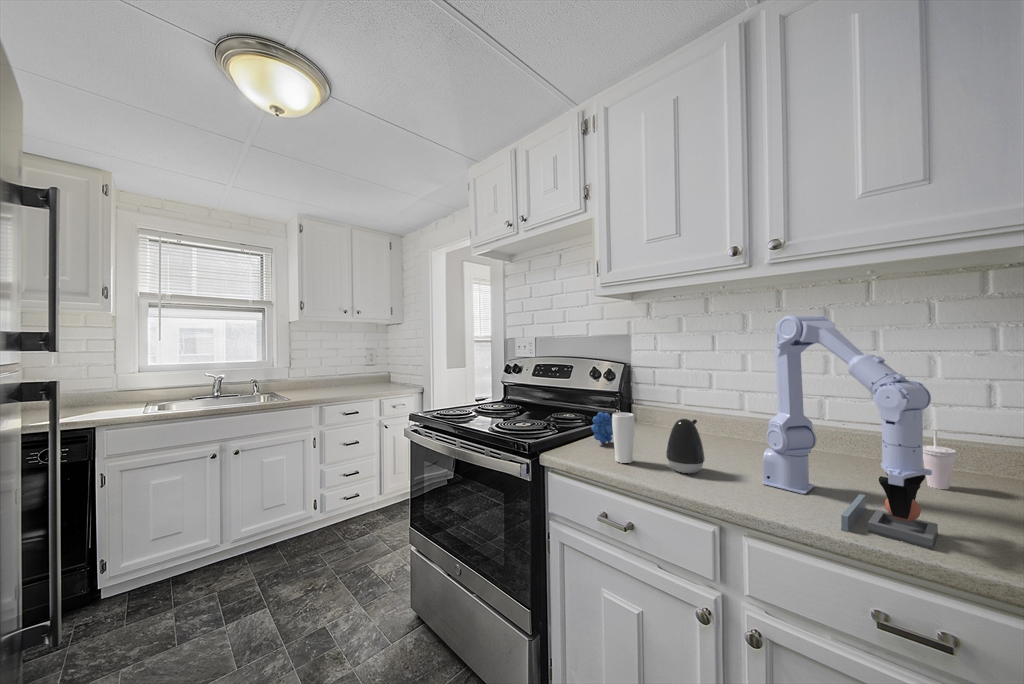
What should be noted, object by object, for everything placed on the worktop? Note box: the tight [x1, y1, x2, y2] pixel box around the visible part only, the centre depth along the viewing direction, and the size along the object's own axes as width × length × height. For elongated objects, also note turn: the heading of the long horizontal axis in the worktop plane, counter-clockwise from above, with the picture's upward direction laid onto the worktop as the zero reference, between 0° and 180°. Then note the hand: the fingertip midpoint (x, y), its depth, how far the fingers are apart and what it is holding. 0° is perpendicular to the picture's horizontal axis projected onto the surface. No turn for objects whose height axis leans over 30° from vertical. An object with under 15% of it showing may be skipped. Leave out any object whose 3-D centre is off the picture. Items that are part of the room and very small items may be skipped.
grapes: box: [591, 411, 613, 445], centre depth 146 cm, size 12×7×12 cm, turn 125°
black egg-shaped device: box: [665, 418, 706, 475], centre depth 116 cm, size 10×10×15 cm
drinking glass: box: [611, 411, 635, 464], centre depth 126 cm, size 7×7×15 cm
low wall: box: [840, 493, 867, 533], centre depth 85 cm, size 1×16×3 cm, turn 129°
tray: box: [867, 509, 939, 551], centre depth 78 cm, size 9×9×2 cm
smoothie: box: [923, 430, 957, 491], centre depth 100 cm, size 6×6×14 cm
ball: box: [884, 497, 922, 521], centre depth 78 cm, size 5×5×5 cm
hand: (902, 512), depth 78 cm, fingers closed on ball, 5 cm apart
